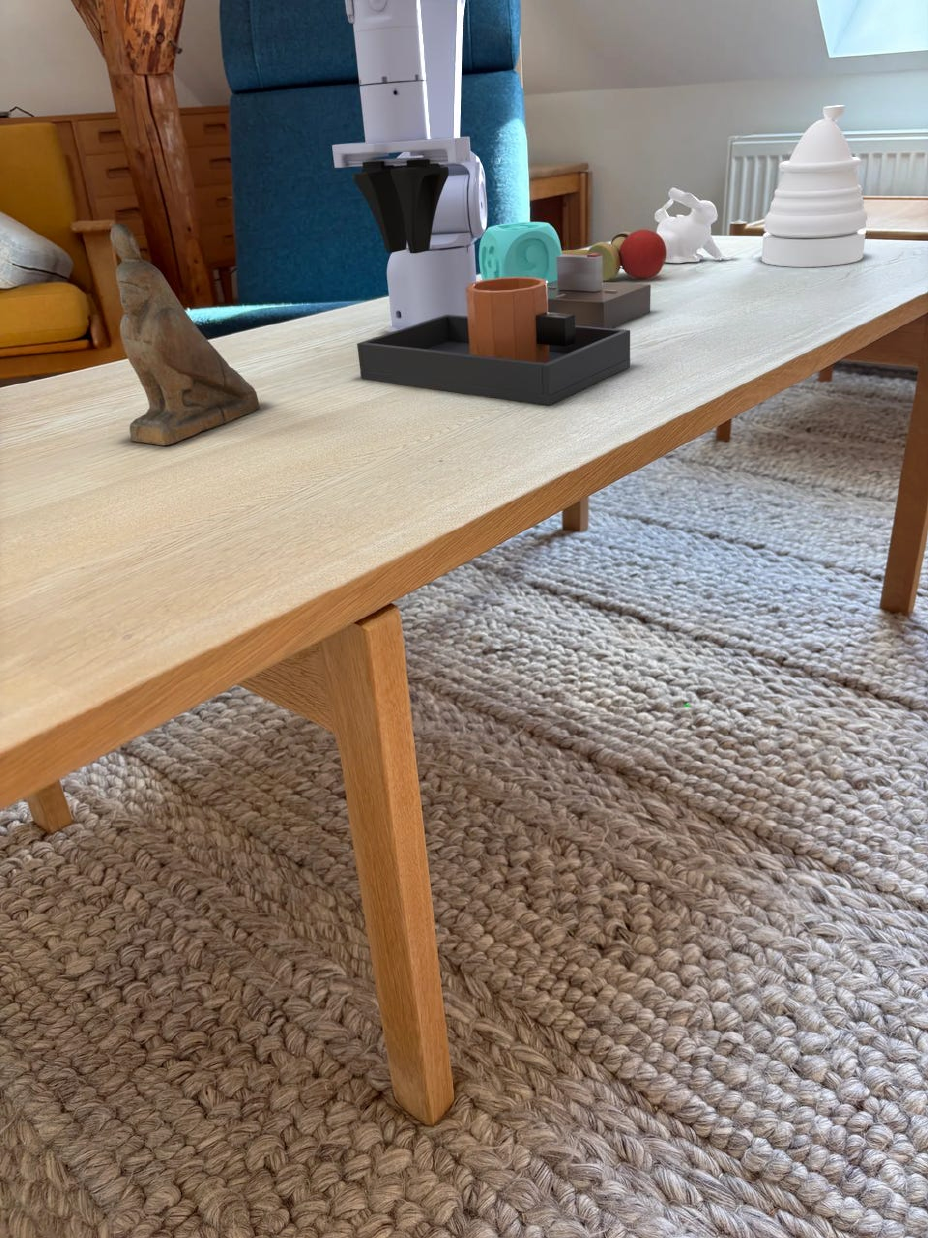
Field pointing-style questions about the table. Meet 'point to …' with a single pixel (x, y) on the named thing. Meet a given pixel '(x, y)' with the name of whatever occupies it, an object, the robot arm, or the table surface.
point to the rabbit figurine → (688, 229)
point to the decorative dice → (520, 251)
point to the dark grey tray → (491, 362)
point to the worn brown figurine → (171, 356)
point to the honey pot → (817, 202)
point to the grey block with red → (580, 272)
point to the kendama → (630, 254)
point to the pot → (515, 319)
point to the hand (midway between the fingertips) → (408, 251)
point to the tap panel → (601, 303)
